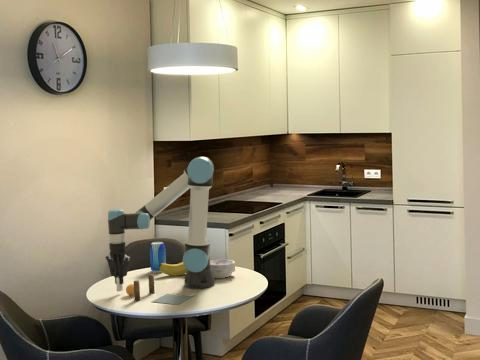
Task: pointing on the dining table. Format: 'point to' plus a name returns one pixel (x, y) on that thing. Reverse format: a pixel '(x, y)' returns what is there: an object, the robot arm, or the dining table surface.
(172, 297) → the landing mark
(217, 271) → the paper bowls
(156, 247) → the beer can
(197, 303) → the dining table surface
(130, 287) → the ball
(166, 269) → the banana
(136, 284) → the post
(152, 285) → the post
